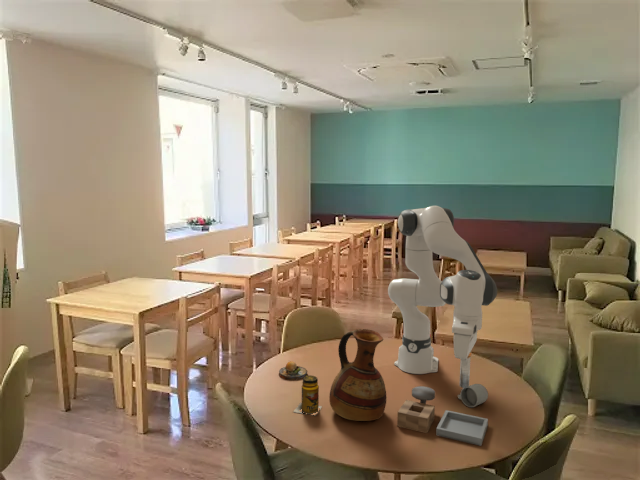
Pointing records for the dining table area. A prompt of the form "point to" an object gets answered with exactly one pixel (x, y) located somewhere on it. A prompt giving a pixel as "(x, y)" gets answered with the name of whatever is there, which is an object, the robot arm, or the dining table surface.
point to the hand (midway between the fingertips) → (465, 363)
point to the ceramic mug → (473, 395)
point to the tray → (462, 427)
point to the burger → (292, 371)
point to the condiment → (309, 396)
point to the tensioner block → (417, 410)
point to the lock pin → (465, 373)
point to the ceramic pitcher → (359, 380)
